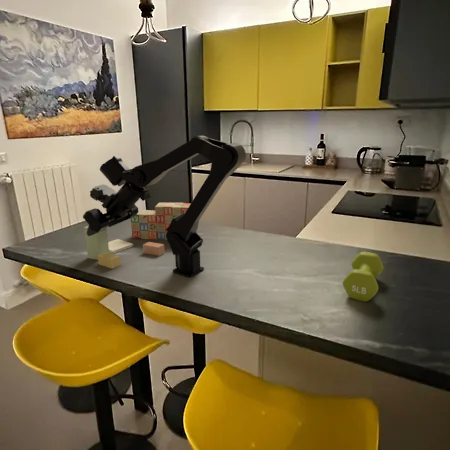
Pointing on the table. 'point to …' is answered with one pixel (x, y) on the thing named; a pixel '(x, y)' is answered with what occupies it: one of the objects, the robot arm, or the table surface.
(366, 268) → the dumbbell
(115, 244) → the cream square slab
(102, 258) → the ochre brick
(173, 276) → the table surface
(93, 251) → the sage brick
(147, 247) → the terracotta brick
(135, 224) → the stack of blocks
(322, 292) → the table surface
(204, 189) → the robot arm
